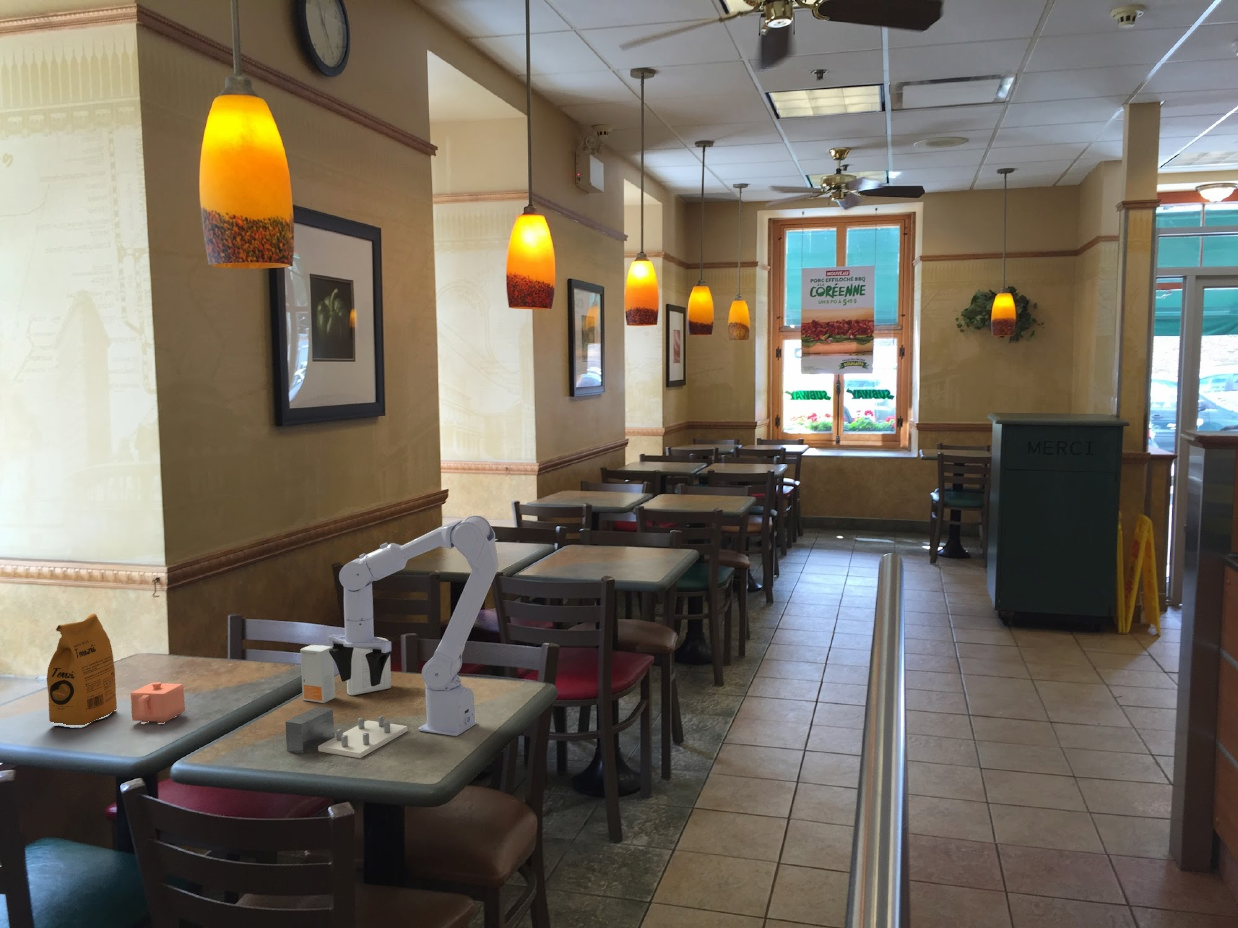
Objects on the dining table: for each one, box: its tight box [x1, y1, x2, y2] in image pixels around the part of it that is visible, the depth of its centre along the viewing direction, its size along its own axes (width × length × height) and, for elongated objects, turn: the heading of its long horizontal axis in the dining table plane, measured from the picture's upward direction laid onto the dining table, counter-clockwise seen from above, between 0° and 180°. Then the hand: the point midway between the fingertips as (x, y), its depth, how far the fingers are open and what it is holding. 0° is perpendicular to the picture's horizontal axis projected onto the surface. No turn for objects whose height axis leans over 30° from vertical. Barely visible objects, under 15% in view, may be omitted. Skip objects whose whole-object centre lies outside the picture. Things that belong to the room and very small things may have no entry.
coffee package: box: [46, 613, 118, 725], centre depth 206 cm, size 10×12×22 cm
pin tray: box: [317, 715, 408, 759], centre depth 190 cm, size 10×15×3 cm, turn 156°
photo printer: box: [346, 636, 392, 696], centre depth 221 cm, size 10×4×12 cm, turn 123°
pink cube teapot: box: [130, 681, 186, 724], centre depth 205 cm, size 8×12×8 cm, turn 170°
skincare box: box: [299, 644, 336, 704], centre depth 216 cm, size 6×4×12 cm
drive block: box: [284, 706, 335, 755], centre depth 189 cm, size 4×9×6 cm, turn 156°
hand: (360, 682), depth 197 cm, fingers open, 7 cm apart
